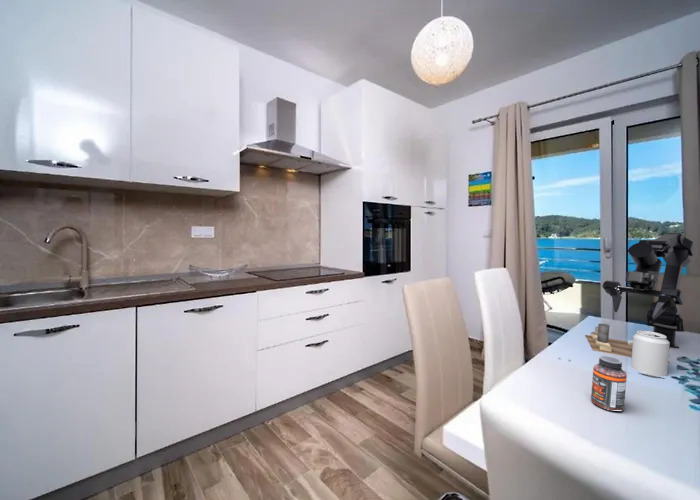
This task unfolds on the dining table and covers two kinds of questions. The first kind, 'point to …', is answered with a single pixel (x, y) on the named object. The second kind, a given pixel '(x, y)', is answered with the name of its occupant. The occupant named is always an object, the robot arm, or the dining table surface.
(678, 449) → the dining table surface
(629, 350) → the keeper board
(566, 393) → the dining table surface
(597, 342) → the lever
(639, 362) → the can
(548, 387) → the dining table surface
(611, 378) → the supplement bottle
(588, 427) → the dining table surface
